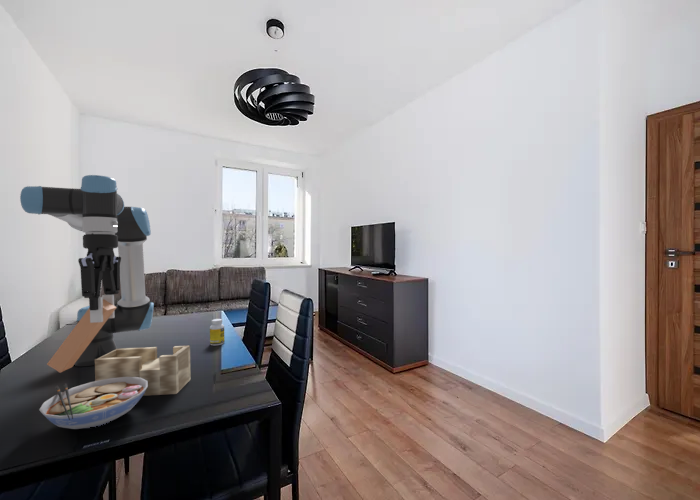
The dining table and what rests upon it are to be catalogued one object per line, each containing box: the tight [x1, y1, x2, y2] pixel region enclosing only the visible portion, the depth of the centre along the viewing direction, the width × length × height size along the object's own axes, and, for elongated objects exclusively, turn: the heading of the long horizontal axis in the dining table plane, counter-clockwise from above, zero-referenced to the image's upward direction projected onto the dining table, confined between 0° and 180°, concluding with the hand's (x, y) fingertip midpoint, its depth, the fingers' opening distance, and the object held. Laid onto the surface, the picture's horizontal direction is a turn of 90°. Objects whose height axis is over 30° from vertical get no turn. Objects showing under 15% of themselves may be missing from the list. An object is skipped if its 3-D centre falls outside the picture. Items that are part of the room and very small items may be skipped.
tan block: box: [46, 299, 117, 374], centre depth 86 cm, size 20×4×4 cm
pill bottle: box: [209, 318, 226, 346], centre depth 154 cm, size 6×6×12 cm
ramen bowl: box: [38, 377, 148, 430], centre depth 86 cm, size 25×23×8 cm
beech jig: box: [94, 345, 192, 397], centre depth 105 cm, size 24×11×12 cm, turn 95°
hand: (102, 319), depth 87 cm, fingers closed on tan block, 4 cm apart
